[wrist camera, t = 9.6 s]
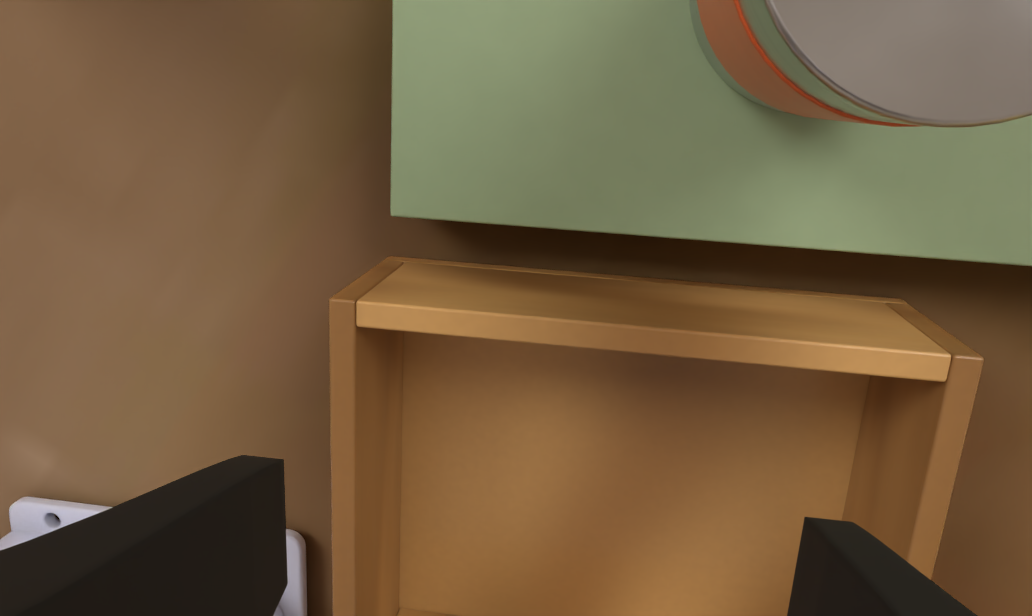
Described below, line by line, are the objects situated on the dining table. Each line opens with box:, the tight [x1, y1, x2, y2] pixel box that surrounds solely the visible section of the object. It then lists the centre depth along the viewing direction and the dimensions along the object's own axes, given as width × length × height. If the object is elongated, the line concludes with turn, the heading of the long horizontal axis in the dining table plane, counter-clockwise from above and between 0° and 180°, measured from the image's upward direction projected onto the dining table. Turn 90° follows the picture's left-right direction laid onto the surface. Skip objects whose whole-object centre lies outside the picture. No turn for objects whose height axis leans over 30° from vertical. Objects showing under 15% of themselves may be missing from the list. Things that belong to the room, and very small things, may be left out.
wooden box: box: [329, 256, 984, 616], centre depth 19 cm, size 13×11×4 cm
